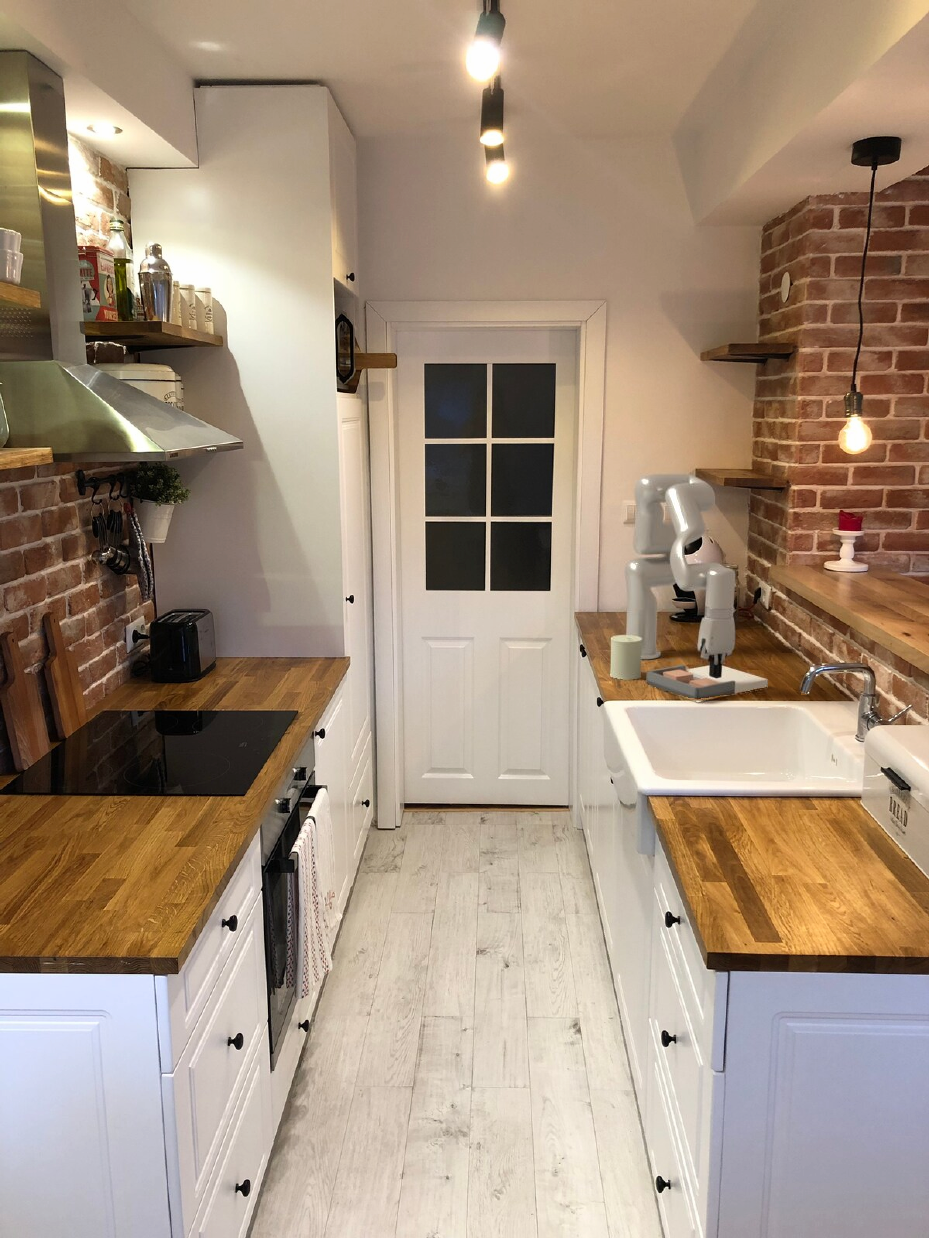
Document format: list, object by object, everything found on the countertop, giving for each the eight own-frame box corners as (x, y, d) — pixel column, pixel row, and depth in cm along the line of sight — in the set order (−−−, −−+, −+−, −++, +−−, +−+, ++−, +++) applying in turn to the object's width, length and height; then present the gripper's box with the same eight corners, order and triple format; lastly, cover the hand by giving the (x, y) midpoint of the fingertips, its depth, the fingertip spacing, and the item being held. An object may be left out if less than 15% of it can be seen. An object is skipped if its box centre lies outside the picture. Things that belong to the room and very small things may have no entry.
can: (617, 681, 284) (618, 641, 281) (604, 673, 292) (605, 634, 290) (646, 678, 286) (647, 639, 284) (633, 670, 295) (634, 632, 292)
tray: (646, 684, 280) (646, 671, 279) (683, 677, 286) (683, 664, 286) (696, 702, 262) (697, 688, 261) (734, 695, 269) (735, 681, 268)
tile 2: (689, 687, 271) (689, 680, 271) (706, 684, 274) (706, 678, 273) (703, 693, 266) (704, 686, 265) (720, 690, 268) (721, 683, 268)
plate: (684, 678, 286) (684, 669, 286) (716, 672, 293) (717, 664, 292) (733, 694, 269) (734, 686, 269) (767, 687, 276) (767, 679, 275)
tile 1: (662, 678, 280) (663, 672, 280) (679, 676, 283) (679, 669, 283) (676, 683, 275) (676, 676, 275) (693, 681, 278) (693, 674, 277)
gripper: (728, 607, 274) (725, 669, 278) (688, 613, 267) (685, 677, 271) (748, 612, 268) (744, 676, 272) (708, 618, 260) (704, 684, 265)
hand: (715, 676), depth 271 cm, fingers closed
